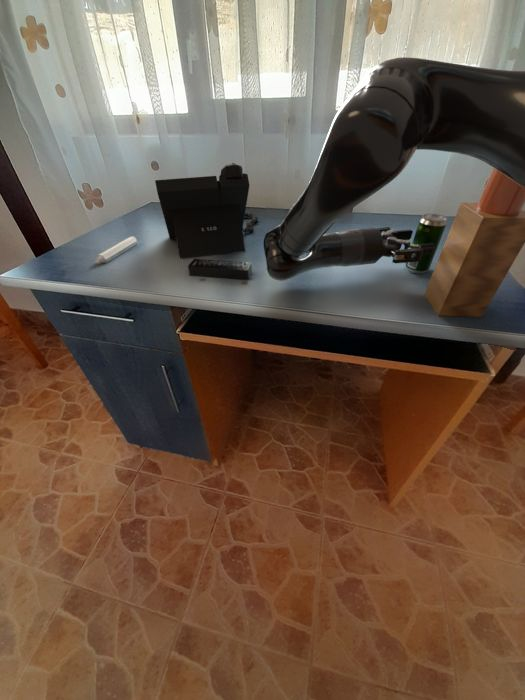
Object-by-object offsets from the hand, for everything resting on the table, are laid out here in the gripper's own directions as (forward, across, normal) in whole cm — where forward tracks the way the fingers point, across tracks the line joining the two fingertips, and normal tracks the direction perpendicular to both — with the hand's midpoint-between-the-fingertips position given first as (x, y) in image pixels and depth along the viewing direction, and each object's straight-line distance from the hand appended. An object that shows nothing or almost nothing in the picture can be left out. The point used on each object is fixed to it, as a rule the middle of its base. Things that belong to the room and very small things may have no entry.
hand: (421, 241), depth 67 cm
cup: (-1, -16, -11) cm, 19 cm away
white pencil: (-72, +25, +7) cm, 76 cm away
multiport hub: (-45, +8, +7) cm, 47 cm away
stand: (-1, -16, +7) cm, 17 cm away
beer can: (+1, 0, +7) cm, 7 cm away
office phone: (-43, +34, +7) cm, 55 cm away
